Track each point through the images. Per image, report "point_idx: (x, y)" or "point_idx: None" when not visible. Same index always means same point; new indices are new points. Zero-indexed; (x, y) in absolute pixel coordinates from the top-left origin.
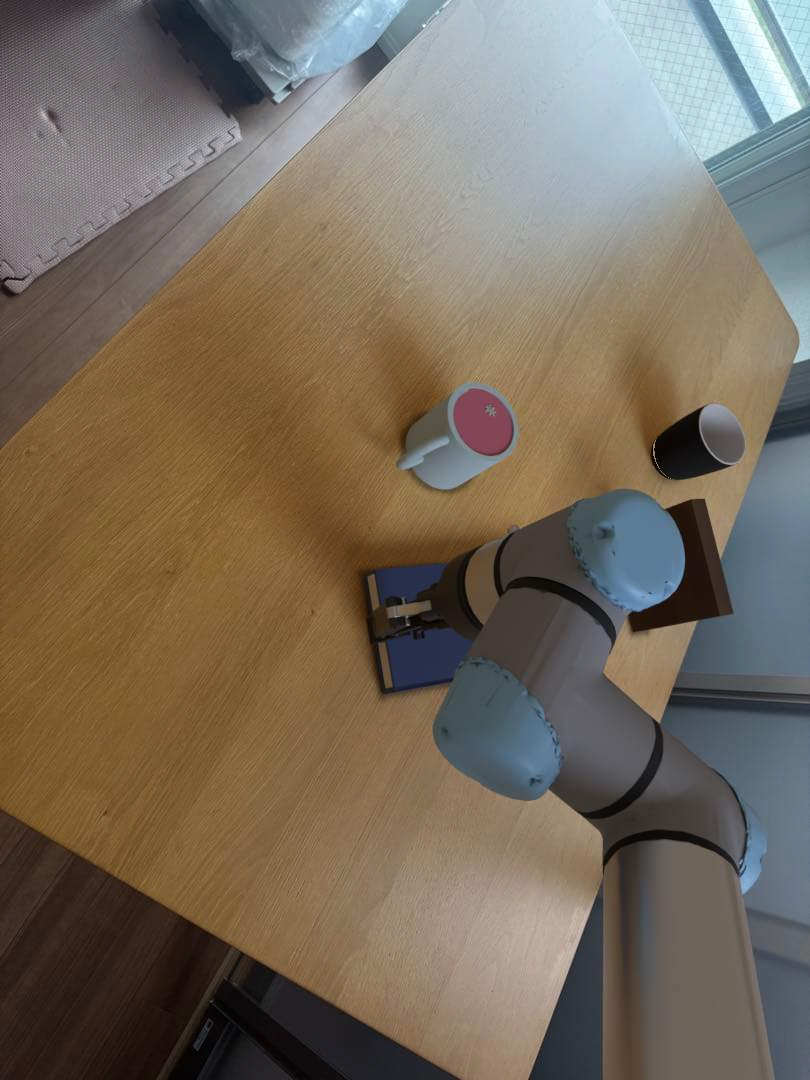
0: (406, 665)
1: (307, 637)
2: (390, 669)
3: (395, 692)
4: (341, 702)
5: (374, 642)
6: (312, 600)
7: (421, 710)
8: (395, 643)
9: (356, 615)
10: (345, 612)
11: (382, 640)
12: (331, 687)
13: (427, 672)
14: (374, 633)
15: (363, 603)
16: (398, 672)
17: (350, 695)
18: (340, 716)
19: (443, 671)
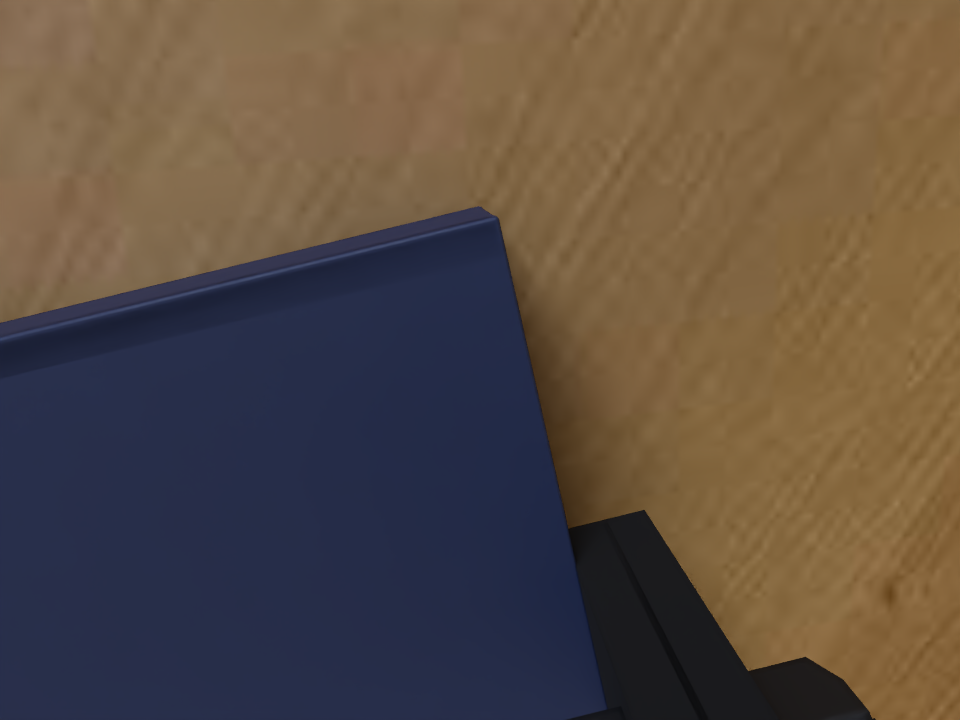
0: (412, 426)
1: (925, 470)
2: (532, 382)
3: (493, 218)
4: (746, 137)
5: (667, 547)
6: (887, 645)
7: (188, 123)
8: (510, 563)
9: None
10: None
11: (712, 617)
12: (805, 221)
13: (225, 396)
14: (826, 679)
15: None
16: (475, 369)
17: (689, 184)
18: (755, 50)
19: (80, 418)
